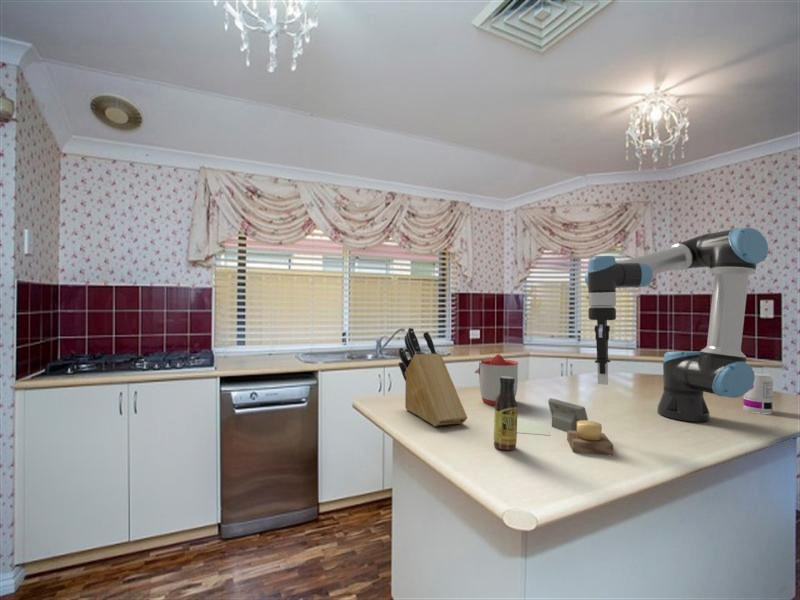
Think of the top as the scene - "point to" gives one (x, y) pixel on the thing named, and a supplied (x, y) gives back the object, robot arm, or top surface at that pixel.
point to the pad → (531, 427)
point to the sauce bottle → (505, 415)
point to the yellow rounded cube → (589, 430)
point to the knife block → (429, 384)
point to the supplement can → (760, 395)
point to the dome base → (589, 444)
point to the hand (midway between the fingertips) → (602, 383)
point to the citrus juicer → (495, 377)
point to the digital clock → (566, 414)
